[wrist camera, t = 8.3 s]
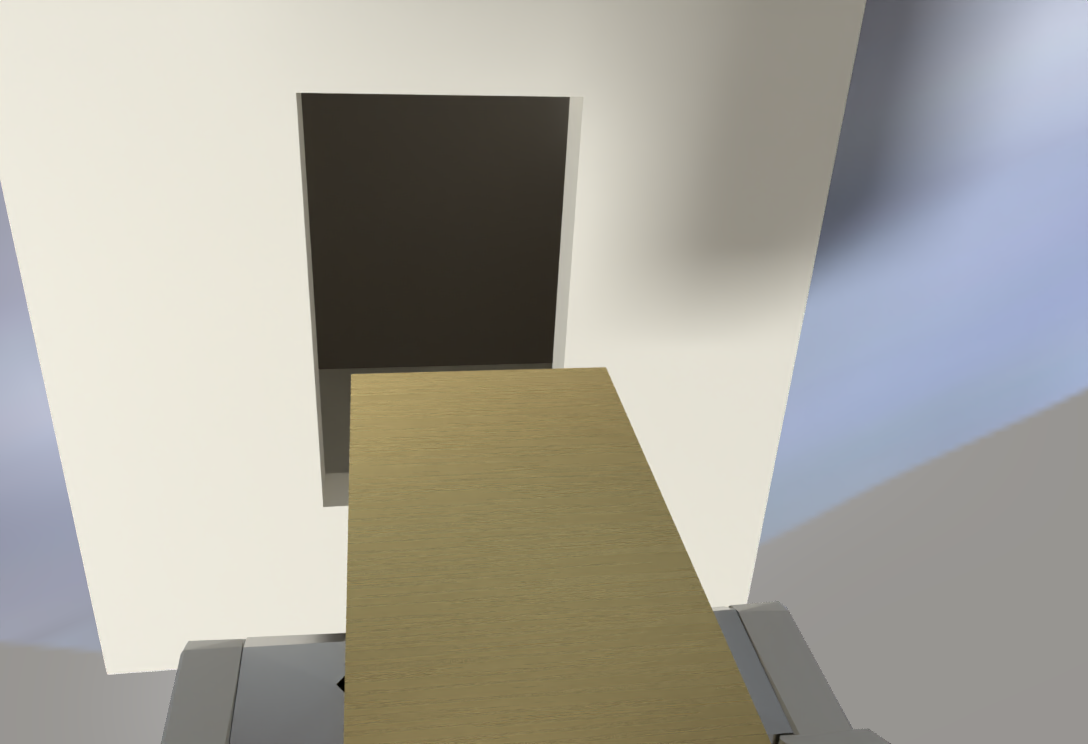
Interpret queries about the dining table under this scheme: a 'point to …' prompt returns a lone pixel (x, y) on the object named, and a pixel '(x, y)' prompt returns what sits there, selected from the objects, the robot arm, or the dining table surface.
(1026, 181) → the dining table surface
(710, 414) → the money box
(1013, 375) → the dining table surface
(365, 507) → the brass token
